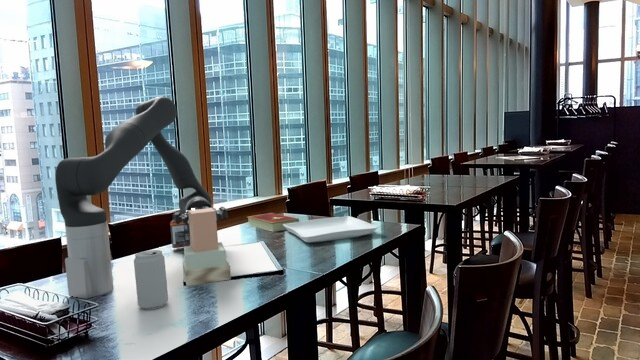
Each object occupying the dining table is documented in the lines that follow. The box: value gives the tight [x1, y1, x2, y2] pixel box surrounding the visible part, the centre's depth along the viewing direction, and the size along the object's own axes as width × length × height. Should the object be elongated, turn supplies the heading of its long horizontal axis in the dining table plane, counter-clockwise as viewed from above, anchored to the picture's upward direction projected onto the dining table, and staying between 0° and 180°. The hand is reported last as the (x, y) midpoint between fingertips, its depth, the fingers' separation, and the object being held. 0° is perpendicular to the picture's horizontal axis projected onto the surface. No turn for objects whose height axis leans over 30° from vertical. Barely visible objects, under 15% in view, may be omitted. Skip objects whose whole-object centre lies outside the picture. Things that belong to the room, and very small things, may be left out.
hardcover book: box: [246, 212, 300, 233], centre depth 192 cm, size 12×21×4 cm, turn 35°
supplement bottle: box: [169, 212, 191, 249], centre depth 160 cm, size 6×6×11 cm
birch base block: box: [182, 259, 232, 287], centre depth 127 cm, size 11×11×4 cm
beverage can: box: [133, 249, 169, 310], centre depth 106 cm, size 6×6×12 cm
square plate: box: [283, 215, 379, 243], centre depth 172 cm, size 27×27×4 cm
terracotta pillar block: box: [188, 207, 219, 252], centre depth 126 cm, size 6×6×10 cm
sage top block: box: [183, 241, 227, 271], centre depth 127 cm, size 10×10×4 cm
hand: (202, 219), depth 129 cm, fingers open, 8 cm apart
